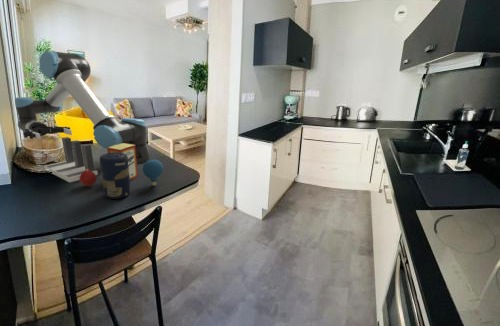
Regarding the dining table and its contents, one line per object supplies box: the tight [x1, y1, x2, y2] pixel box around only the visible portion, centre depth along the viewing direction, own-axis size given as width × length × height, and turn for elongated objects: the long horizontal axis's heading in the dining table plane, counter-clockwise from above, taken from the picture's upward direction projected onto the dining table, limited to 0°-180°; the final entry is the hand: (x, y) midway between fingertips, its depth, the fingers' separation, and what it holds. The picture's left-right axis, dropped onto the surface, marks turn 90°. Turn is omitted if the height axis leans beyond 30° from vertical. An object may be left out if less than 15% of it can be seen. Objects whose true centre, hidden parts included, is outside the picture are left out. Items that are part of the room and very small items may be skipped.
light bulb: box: [142, 158, 164, 186], centre depth 109 cm, size 8×8×12 cm
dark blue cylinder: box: [99, 152, 131, 200], centre depth 97 cm, size 10×10×18 cm
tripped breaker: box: [61, 136, 74, 162], centre depth 123 cm, size 3×2×12 cm
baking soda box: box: [106, 143, 139, 181], centre depth 113 cm, size 10×6×16 cm
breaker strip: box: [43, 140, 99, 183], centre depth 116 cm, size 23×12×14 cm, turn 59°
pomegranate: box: [79, 169, 97, 188], centre depth 104 cm, size 6×6×8 cm
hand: (55, 134), depth 126 cm, fingers open, 13 cm apart
